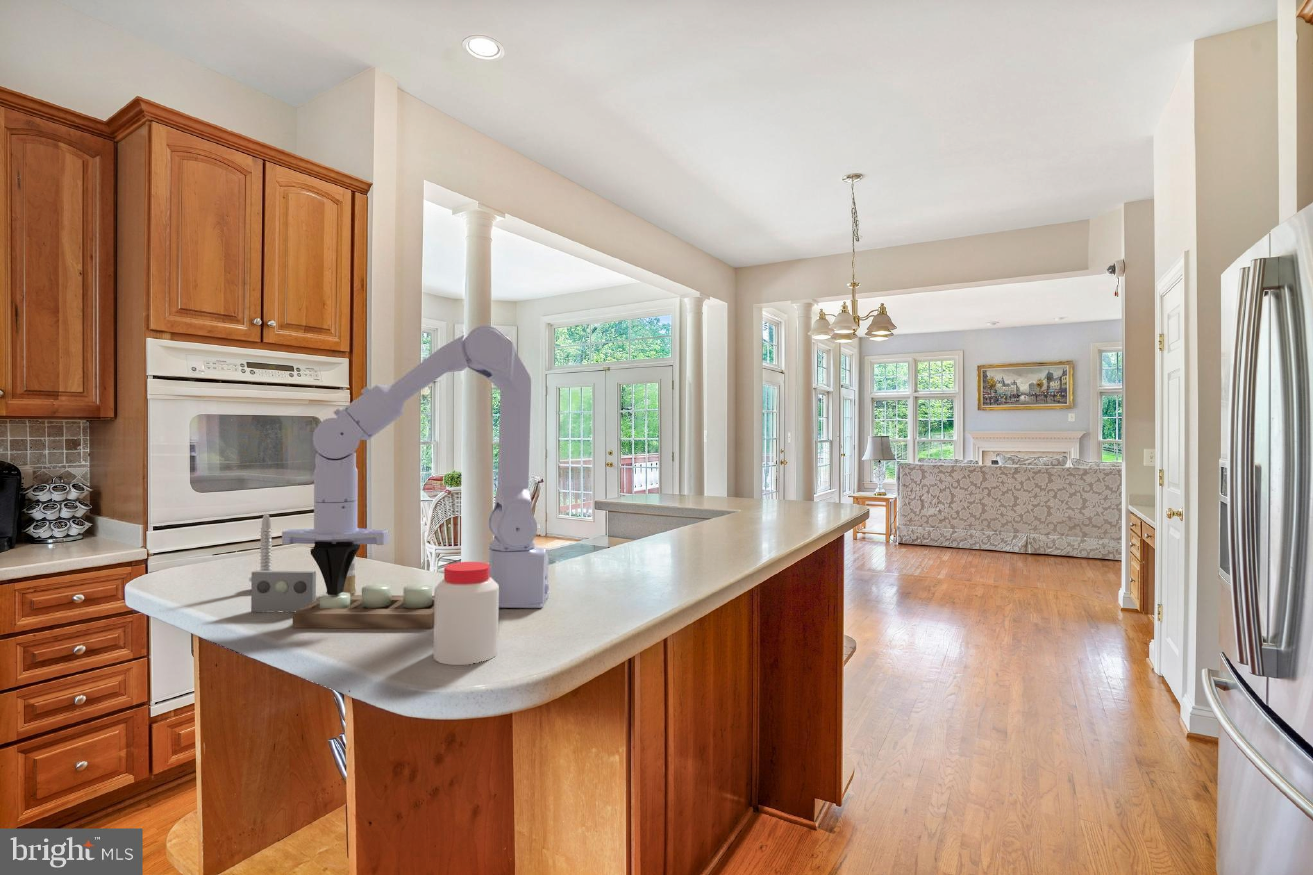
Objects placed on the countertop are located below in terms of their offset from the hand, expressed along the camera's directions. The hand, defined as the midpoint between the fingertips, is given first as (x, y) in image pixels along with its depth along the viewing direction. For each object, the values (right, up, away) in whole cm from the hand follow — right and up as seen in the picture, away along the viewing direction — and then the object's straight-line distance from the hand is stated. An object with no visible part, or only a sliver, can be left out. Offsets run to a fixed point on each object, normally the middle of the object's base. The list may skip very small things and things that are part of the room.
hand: (335, 593), depth 94 cm
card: (-9, -3, +3) cm, 10 cm away
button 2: (+12, -2, 0) cm, 12 cm away
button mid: (+6, -2, 0) cm, 6 cm away
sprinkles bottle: (-6, -4, +13) cm, 14 cm away
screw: (-20, -3, +15) cm, 25 cm away
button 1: (0, -3, 0) cm, 3 cm away
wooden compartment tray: (+6, -4, 0) cm, 7 cm away
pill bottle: (+23, -4, -14) cm, 28 cm away
